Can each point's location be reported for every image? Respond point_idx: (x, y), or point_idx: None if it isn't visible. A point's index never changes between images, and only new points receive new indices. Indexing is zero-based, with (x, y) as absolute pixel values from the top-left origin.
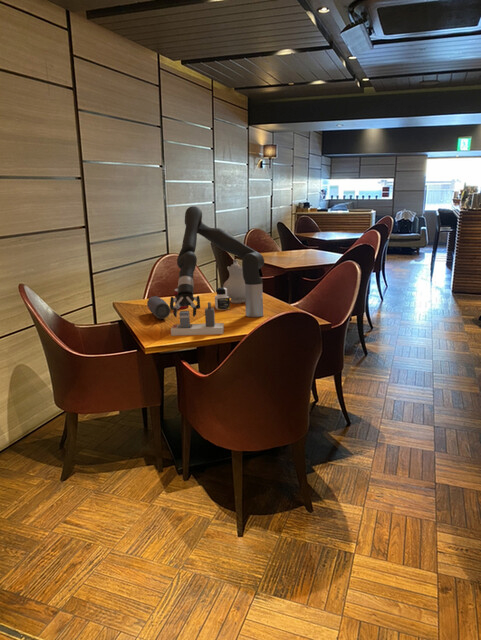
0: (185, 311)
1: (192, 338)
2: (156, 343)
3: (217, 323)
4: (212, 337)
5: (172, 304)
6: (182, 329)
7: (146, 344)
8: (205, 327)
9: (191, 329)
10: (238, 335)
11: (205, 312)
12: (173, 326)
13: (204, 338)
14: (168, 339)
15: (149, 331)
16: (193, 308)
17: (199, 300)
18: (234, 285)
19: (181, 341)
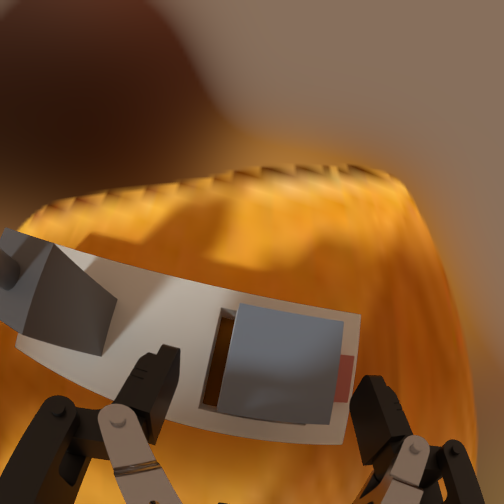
0: (267, 391)
1: (226, 229)
2: (387, 210)
3: (40, 352)
4: (127, 215)
5: (447, 478)
6: (284, 301)
7: (417, 212)
8: (123, 283)
9: (220, 290)
10: (35, 214)
11: (63, 253)
12: (349, 355)
13: (167, 210)
14: (350, 252)
15: (439, 427)
16: (146, 401)
17: (9, 459)
18: None
19: (285, 199)
